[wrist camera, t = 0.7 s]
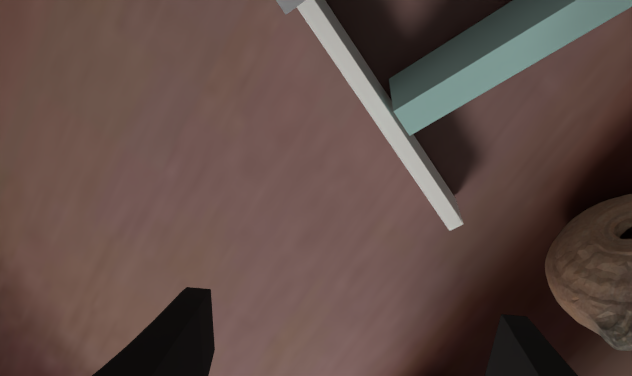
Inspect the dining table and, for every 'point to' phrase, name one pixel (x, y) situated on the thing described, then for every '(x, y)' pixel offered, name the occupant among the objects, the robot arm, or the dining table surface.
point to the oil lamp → (596, 270)
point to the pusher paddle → (491, 55)
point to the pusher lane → (377, 105)
